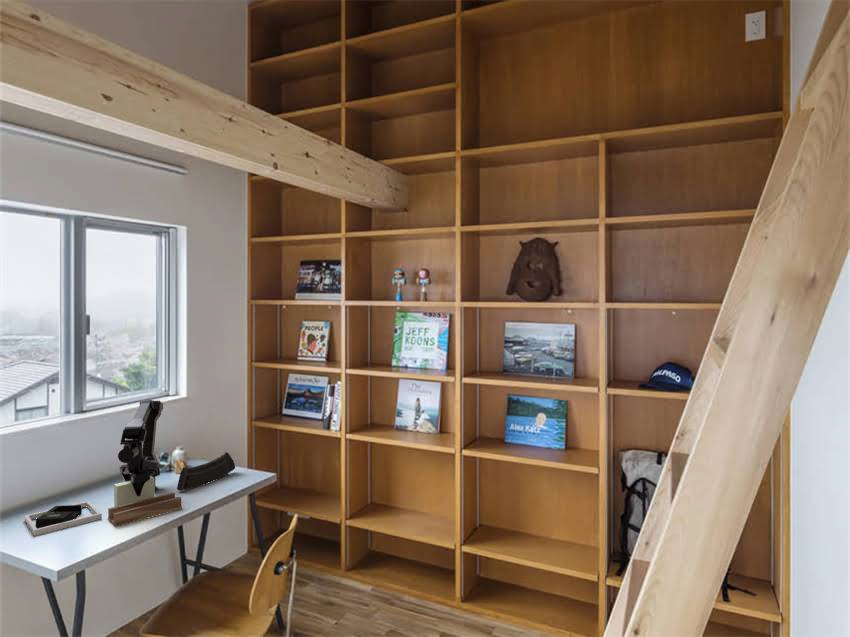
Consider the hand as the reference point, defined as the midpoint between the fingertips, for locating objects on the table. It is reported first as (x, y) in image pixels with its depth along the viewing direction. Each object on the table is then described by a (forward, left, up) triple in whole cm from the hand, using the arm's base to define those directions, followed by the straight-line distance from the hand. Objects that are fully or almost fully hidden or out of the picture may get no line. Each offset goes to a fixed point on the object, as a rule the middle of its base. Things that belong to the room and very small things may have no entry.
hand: (134, 493), depth 214 cm
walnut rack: (+13, 0, -5) cm, 14 cm away
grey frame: (-3, -24, -5) cm, 25 cm away
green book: (0, 0, -5) cm, 5 cm away
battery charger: (-3, -25, -6) cm, 26 cm away
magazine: (-6, +33, -5) cm, 34 cm away
